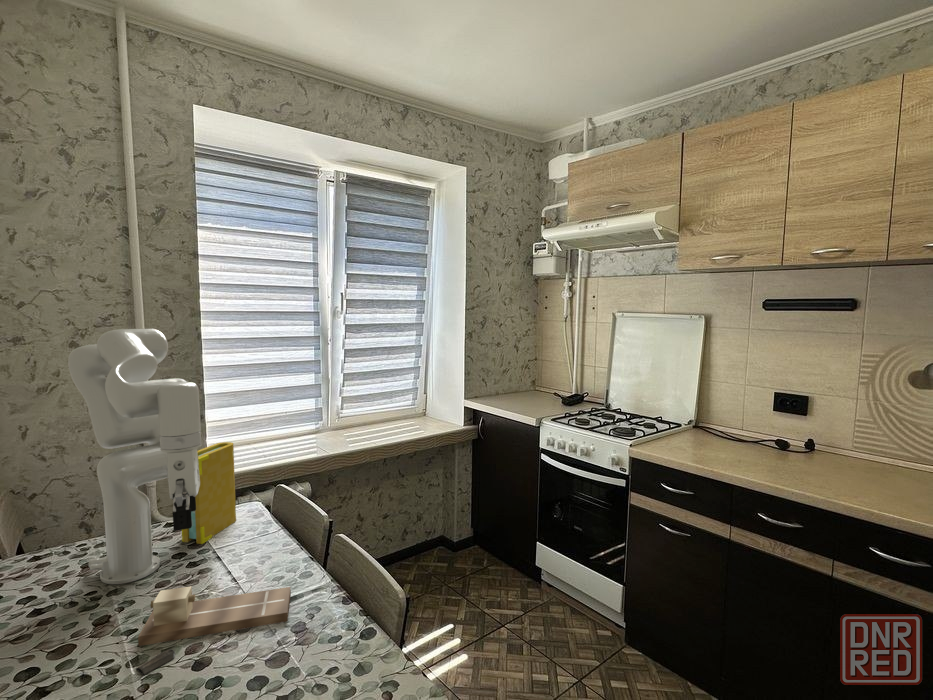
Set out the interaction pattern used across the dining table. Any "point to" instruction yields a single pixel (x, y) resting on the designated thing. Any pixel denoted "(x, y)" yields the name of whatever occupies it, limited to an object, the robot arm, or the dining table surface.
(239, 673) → the dining table surface
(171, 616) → the cream knobbed box
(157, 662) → the block
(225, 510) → the book
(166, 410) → the robot arm
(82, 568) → the dining table surface
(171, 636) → the board
